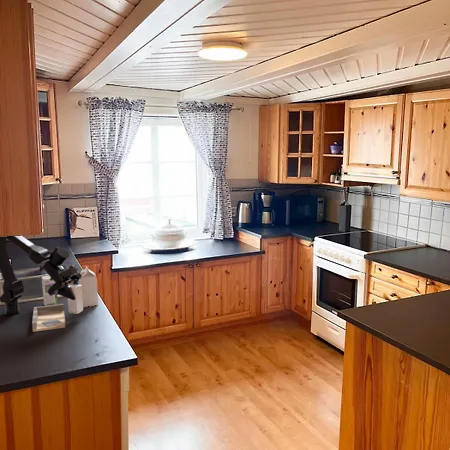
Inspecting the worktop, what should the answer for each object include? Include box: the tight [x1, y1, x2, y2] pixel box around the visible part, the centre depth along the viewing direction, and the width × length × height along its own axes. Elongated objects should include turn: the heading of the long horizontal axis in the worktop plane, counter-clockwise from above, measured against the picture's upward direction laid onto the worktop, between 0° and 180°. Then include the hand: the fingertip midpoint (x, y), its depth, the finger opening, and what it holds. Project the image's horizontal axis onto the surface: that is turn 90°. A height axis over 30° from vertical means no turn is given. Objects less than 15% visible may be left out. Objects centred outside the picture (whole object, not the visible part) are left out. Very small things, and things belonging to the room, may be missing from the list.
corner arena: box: [31, 303, 66, 332], centre depth 204 cm, size 20×13×4 cm, turn 20°
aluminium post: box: [67, 284, 84, 315], centre depth 204 cm, size 4×4×12 cm
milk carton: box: [79, 265, 99, 308], centre depth 224 cm, size 7×7×19 cm
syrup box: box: [41, 275, 59, 306], centre depth 224 cm, size 6×6×14 cm
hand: (77, 297), depth 204 cm, fingers closed on aluminium post, 4 cm apart
